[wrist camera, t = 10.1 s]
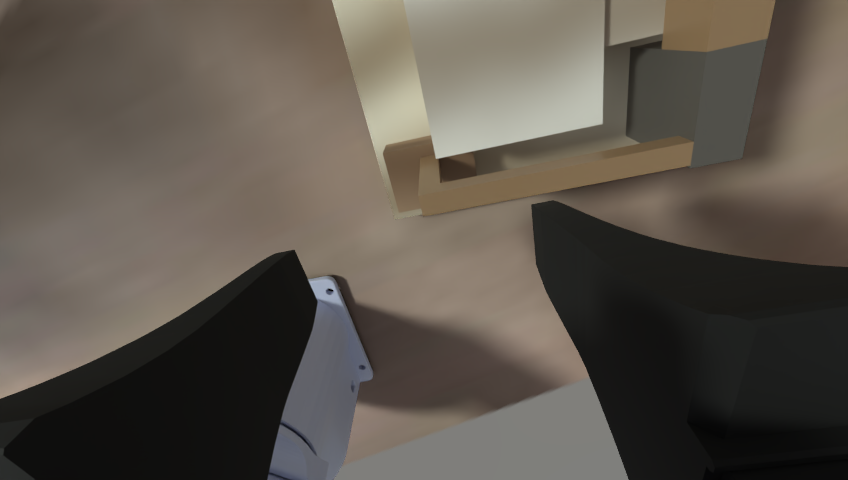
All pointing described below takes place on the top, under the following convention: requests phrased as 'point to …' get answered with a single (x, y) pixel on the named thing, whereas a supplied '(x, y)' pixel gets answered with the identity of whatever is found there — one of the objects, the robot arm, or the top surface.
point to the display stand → (491, 81)
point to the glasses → (650, 109)
